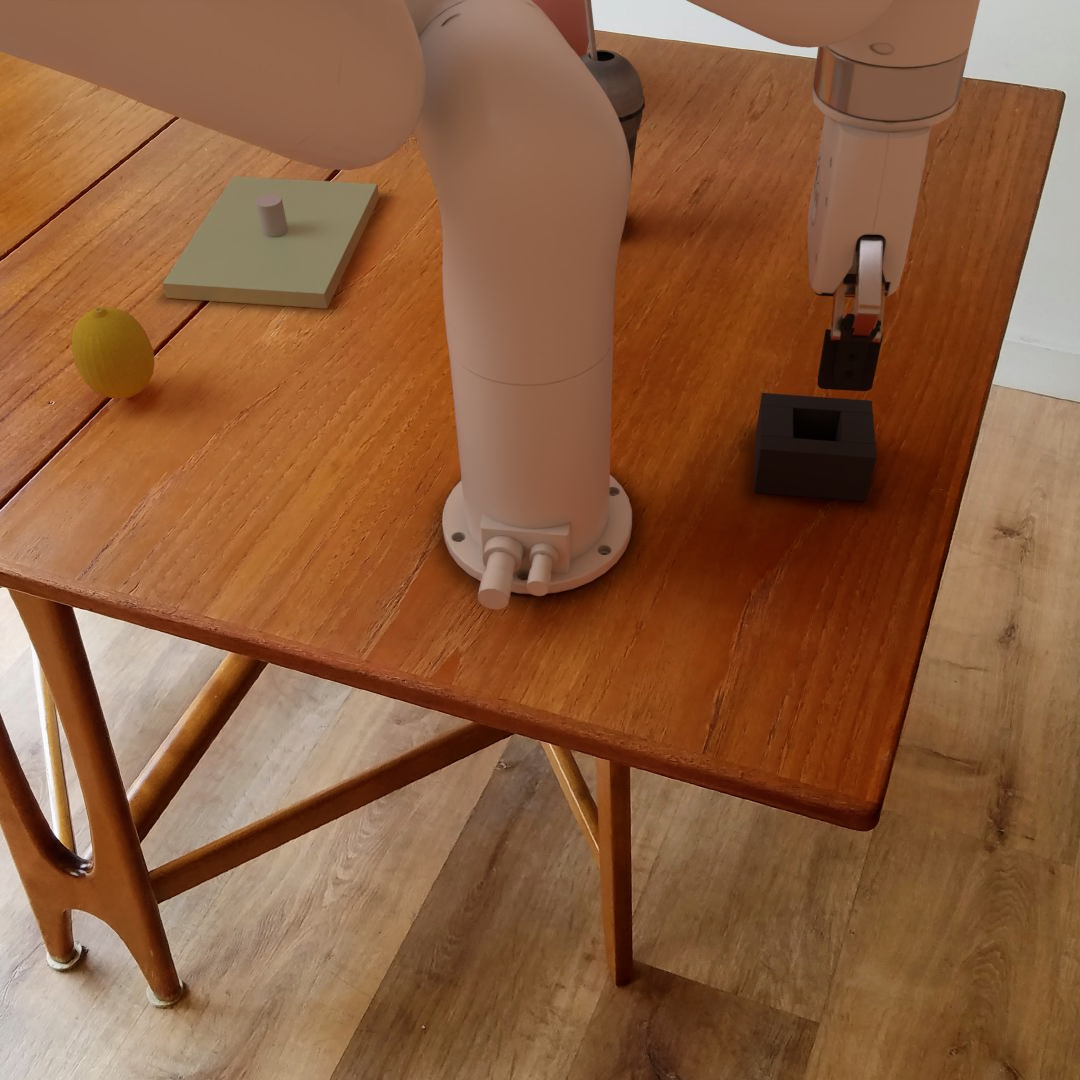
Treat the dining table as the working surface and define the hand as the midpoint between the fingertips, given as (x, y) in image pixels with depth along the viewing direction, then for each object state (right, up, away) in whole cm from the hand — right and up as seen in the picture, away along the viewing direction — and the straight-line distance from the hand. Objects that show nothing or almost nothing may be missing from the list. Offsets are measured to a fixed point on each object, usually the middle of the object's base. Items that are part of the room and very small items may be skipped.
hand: (841, 338), depth 73 cm
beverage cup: (-14, +15, +31) cm, 37 cm away
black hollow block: (0, -8, +8) cm, 11 cm away
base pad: (-42, +13, +30) cm, 53 cm away
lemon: (-50, -2, +15) cm, 53 cm away
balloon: (-23, +32, +47) cm, 62 cm away
